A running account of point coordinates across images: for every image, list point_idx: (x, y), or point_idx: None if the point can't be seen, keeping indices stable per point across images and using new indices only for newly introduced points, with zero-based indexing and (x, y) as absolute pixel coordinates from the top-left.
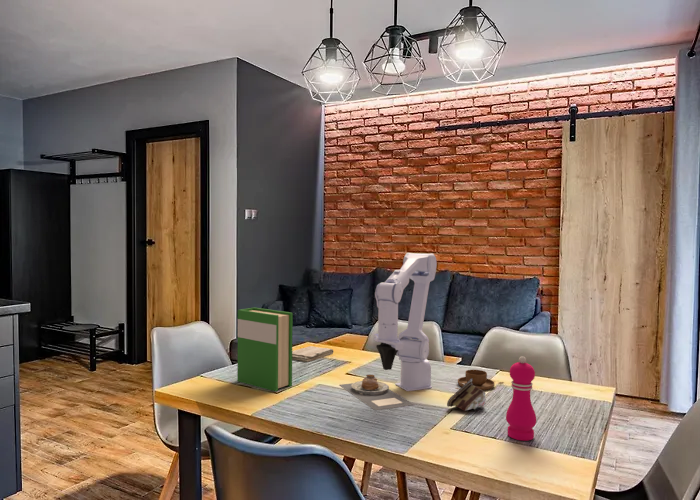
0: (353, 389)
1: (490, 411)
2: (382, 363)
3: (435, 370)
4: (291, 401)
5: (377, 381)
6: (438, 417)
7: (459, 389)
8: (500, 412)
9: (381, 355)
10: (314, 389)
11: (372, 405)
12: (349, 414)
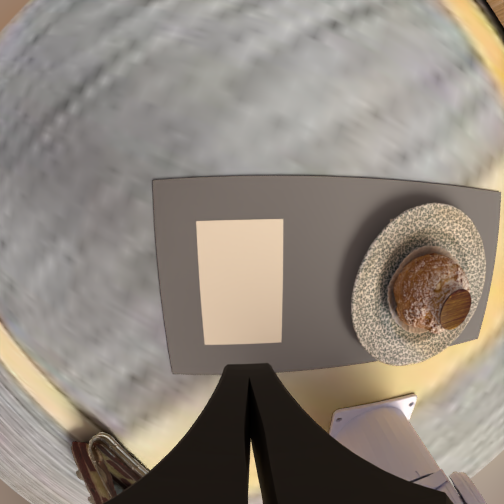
0: None
1: None
2: (270, 387)
3: None
4: None
5: (452, 340)
6: (47, 367)
7: (109, 495)
8: None
9: (282, 450)
10: (484, 85)
11: (218, 196)
12: (156, 58)
